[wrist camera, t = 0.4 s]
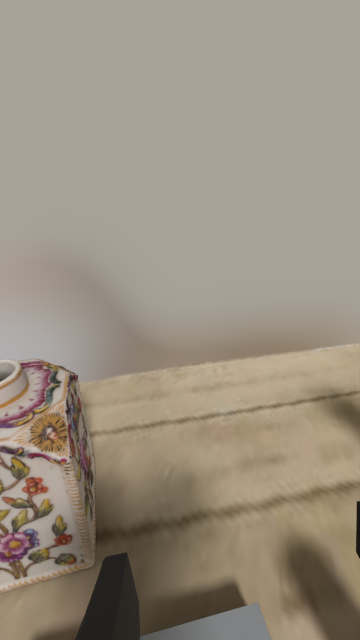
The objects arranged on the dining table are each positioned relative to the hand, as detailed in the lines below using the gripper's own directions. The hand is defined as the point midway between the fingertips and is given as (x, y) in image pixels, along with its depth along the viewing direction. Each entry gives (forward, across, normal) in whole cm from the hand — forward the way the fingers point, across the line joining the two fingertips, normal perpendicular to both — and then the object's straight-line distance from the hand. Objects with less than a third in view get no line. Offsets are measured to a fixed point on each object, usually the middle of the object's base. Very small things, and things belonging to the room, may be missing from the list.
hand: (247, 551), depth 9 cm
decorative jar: (+20, +17, +16) cm, 31 cm away
